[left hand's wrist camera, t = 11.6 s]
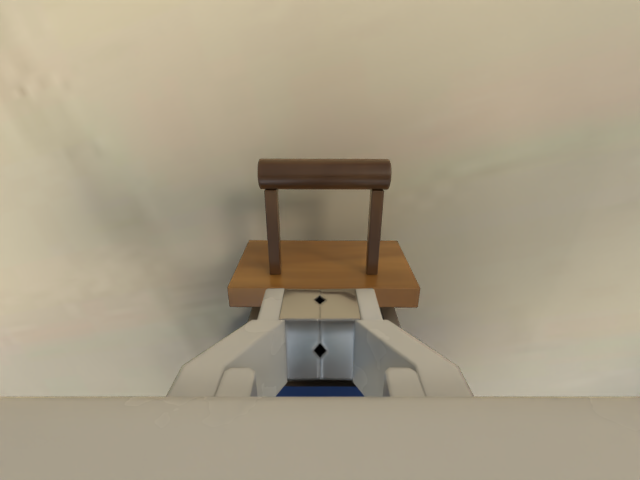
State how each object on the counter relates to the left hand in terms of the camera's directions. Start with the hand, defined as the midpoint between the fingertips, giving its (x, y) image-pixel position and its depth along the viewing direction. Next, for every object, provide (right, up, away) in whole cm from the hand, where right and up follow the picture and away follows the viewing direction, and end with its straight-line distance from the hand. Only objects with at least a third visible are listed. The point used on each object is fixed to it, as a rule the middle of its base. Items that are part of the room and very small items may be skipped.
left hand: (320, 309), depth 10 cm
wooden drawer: (0, -1, +14) cm, 14 cm away
